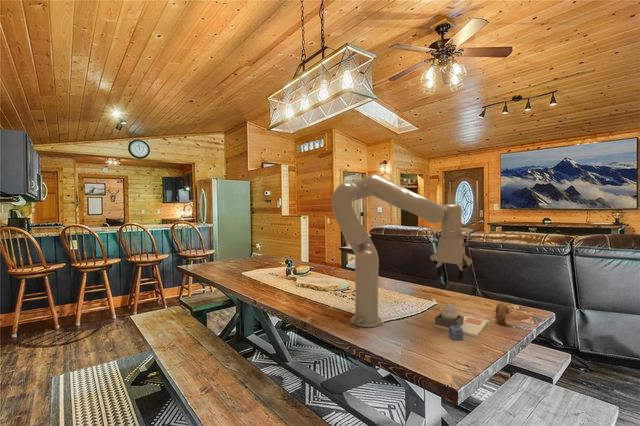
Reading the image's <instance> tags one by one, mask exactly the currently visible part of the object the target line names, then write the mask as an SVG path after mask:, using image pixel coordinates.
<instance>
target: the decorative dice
mask: <svg viewBox="0 0 640 426" xmlns="http://www.w3.org/2000/svg"><path fill="white" fill-rule="evenodd" d="M448 335H449V337H450V339H452V340H455V341H461V340H463V339H464V336H465V335H464V332H463V329H462V328H461V327H460V326H455V325H454V326H451V327H450V328H449V330H448Z"/></svg>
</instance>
